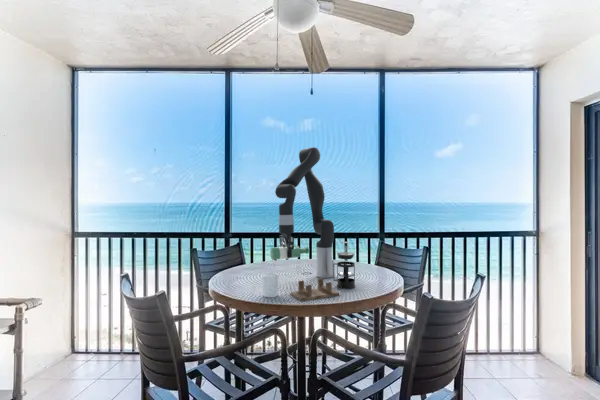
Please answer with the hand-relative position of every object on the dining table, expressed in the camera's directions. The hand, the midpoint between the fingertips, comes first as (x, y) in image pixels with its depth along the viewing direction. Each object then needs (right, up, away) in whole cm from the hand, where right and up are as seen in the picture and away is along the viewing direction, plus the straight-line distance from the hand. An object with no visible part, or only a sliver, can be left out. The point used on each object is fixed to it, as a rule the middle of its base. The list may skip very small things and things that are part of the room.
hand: (286, 256), depth 167 cm
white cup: (-7, -16, -13) cm, 22 cm away
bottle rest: (+14, -16, -12) cm, 24 cm away
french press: (+30, -16, +3) cm, 34 cm away
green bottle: (+2, -1, +1) cm, 2 cm away
